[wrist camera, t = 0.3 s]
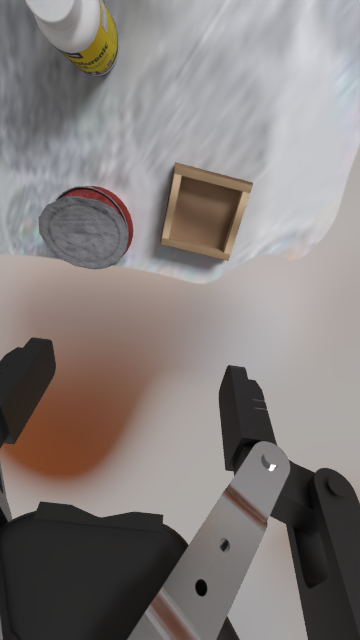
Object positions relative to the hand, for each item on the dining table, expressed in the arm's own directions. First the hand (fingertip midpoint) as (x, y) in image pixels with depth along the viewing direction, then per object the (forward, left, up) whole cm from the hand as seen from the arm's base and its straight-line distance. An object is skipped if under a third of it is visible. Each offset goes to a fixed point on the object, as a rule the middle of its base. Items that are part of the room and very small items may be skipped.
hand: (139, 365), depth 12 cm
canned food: (+1, -11, -27) cm, 29 cm away
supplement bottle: (-17, -13, -27) cm, 35 cm away
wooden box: (-4, +2, -27) cm, 27 cm away
